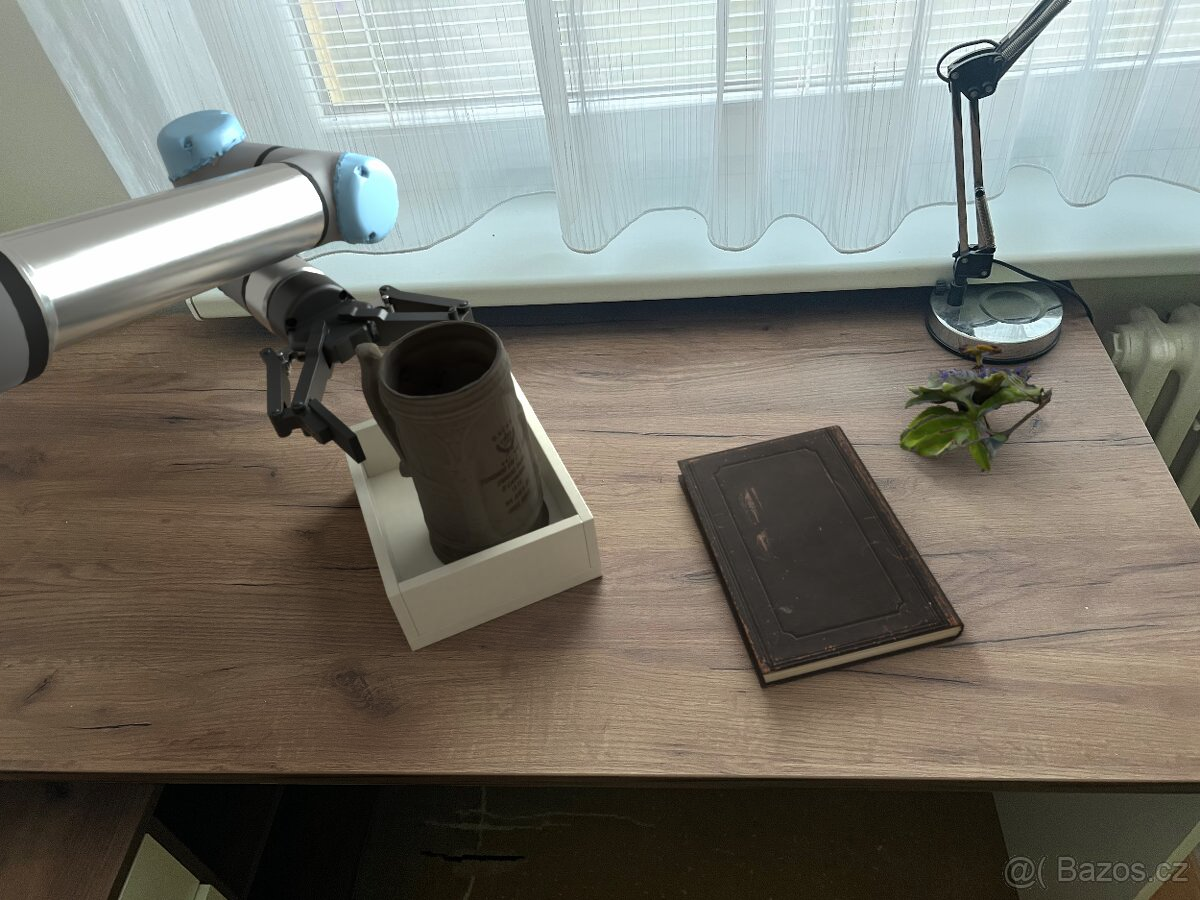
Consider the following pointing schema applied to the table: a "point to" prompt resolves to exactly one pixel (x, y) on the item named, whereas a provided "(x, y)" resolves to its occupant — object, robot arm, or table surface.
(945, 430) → the passion flower
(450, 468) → the beer stein
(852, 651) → the hardcover book
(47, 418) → the table surface
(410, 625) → the open storage bin
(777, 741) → the table surface
